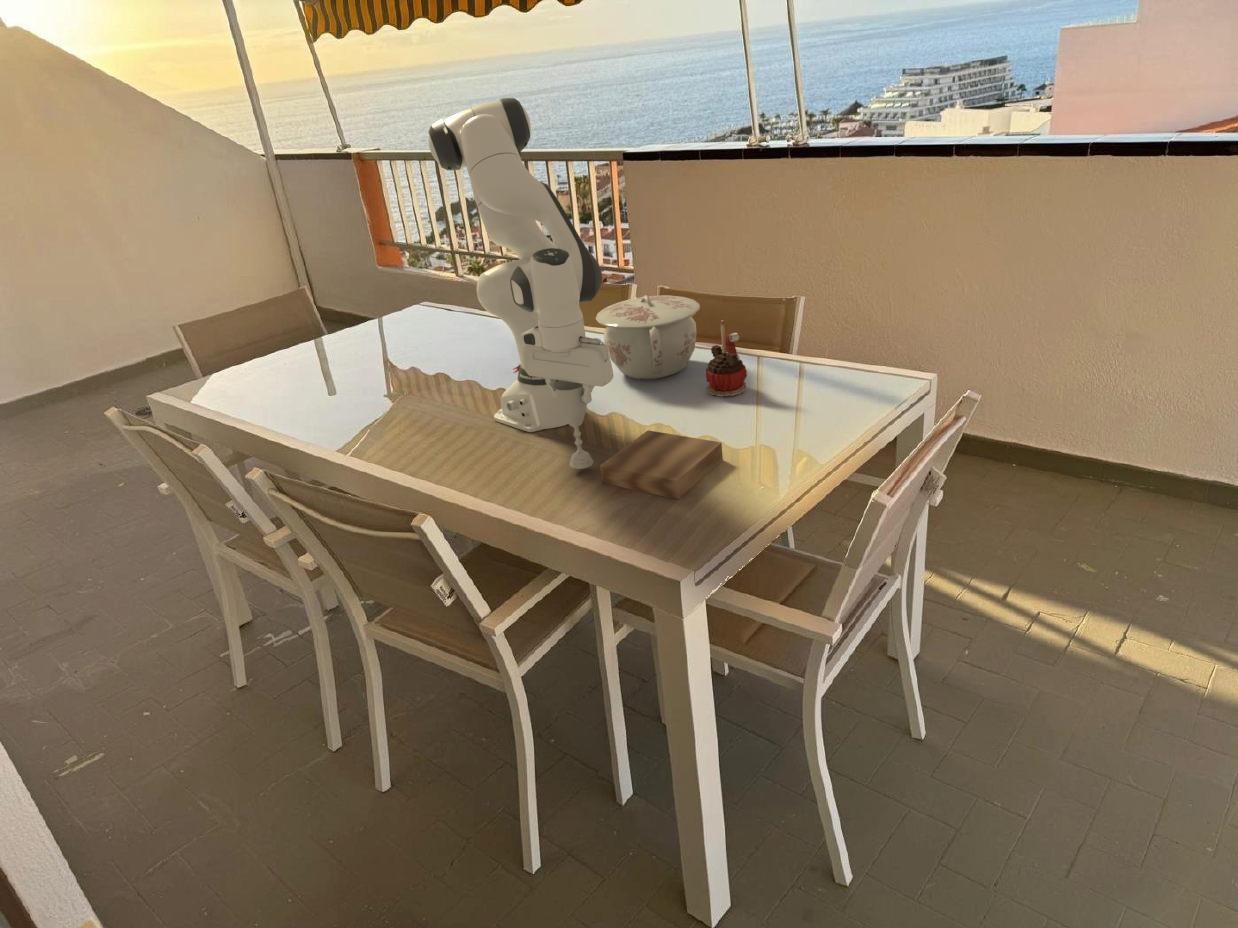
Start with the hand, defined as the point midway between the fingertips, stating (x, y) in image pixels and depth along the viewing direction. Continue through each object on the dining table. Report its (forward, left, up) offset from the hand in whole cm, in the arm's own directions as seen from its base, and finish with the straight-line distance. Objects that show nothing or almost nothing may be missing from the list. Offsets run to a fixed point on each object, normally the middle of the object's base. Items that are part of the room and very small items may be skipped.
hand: (572, 399), depth 171 cm
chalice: (0, 0, -15) cm, 15 cm away
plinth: (+16, +6, -16) cm, 24 cm away
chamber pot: (-18, +56, -16) cm, 61 cm away
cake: (+8, +49, -16) cm, 52 cm away
